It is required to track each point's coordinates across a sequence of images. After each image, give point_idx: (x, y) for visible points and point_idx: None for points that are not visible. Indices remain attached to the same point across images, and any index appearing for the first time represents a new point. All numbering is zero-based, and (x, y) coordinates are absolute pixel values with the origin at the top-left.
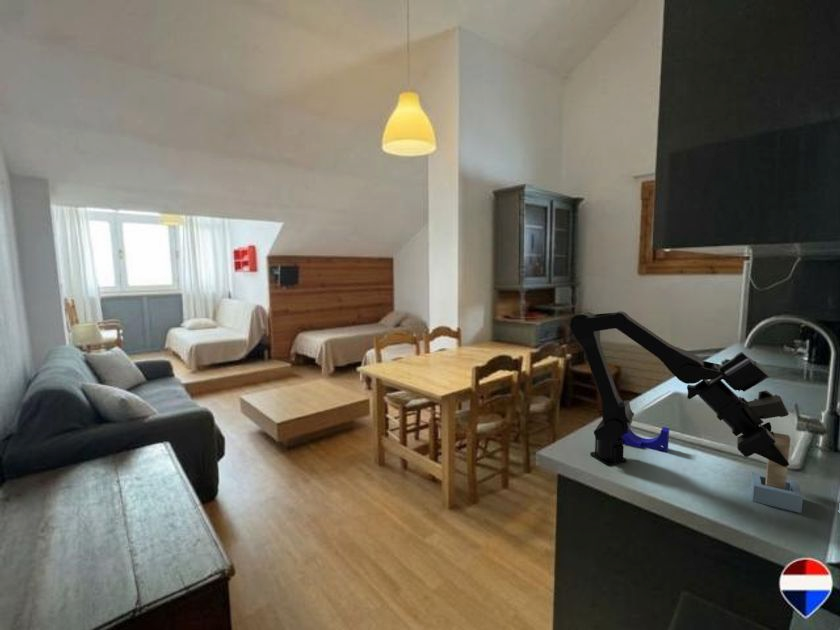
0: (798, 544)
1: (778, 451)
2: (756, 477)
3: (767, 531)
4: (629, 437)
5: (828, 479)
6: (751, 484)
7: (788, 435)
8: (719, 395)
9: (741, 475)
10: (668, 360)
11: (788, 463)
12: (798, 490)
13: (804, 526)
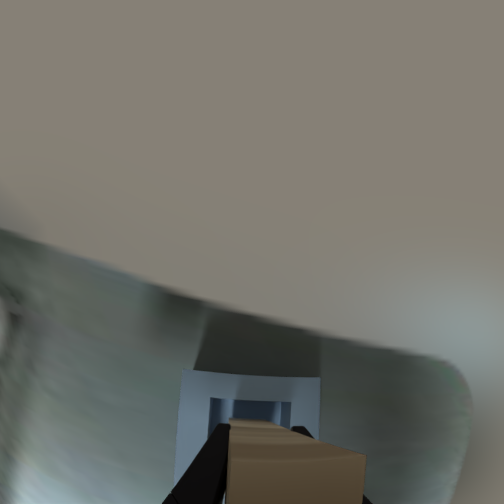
0: (452, 394)
1: (363, 497)
2: (224, 499)
3: (438, 448)
4: None
5: (46, 252)
6: None
7: (243, 467)
8: None
9: (109, 488)
10: None
11: (306, 430)
12: (268, 382)
13: (374, 382)
